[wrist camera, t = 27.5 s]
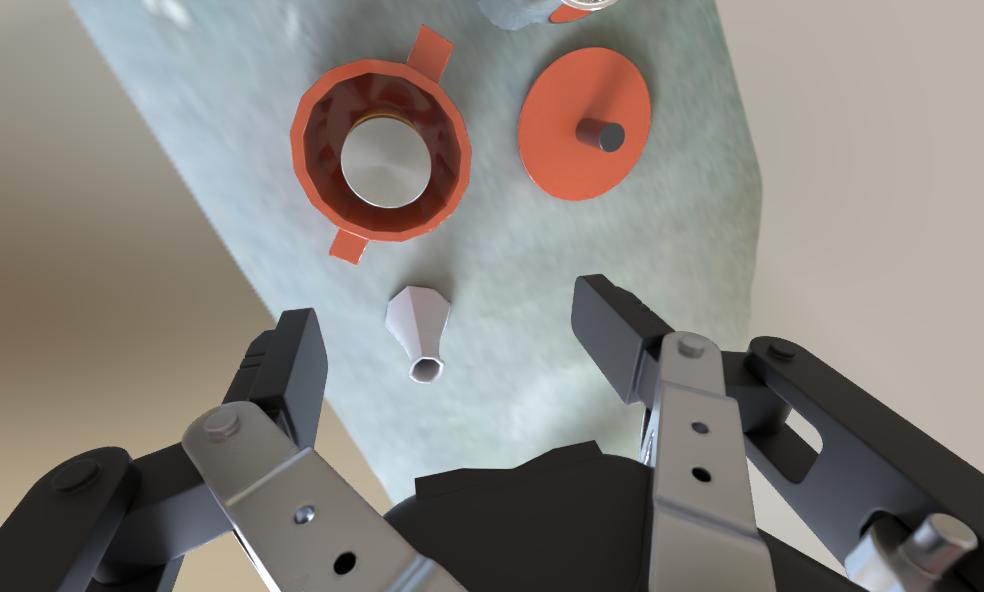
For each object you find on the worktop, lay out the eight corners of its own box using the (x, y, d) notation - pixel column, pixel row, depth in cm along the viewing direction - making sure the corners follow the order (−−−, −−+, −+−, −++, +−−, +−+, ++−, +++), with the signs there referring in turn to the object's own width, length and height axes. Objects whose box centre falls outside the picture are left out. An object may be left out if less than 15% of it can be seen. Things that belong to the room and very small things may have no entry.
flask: (430, 348, 47) (440, 408, 38) (373, 326, 44) (371, 387, 35) (461, 300, 45) (480, 353, 36) (404, 274, 42) (410, 325, 33)
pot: (278, 203, 35) (256, 232, 29) (352, -10, 29) (344, -32, 23) (409, 256, 41) (414, 289, 34) (493, 84, 35) (518, 86, 28)
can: (339, 160, 34) (327, 185, 27) (365, 92, 32) (360, 98, 25) (404, 191, 37) (410, 222, 29) (432, 129, 35) (446, 145, 27)
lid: (490, 160, 38) (507, 174, 33) (566, 12, 33) (600, 2, 28) (593, 218, 44) (621, 238, 39) (670, 99, 39) (713, 103, 34)
